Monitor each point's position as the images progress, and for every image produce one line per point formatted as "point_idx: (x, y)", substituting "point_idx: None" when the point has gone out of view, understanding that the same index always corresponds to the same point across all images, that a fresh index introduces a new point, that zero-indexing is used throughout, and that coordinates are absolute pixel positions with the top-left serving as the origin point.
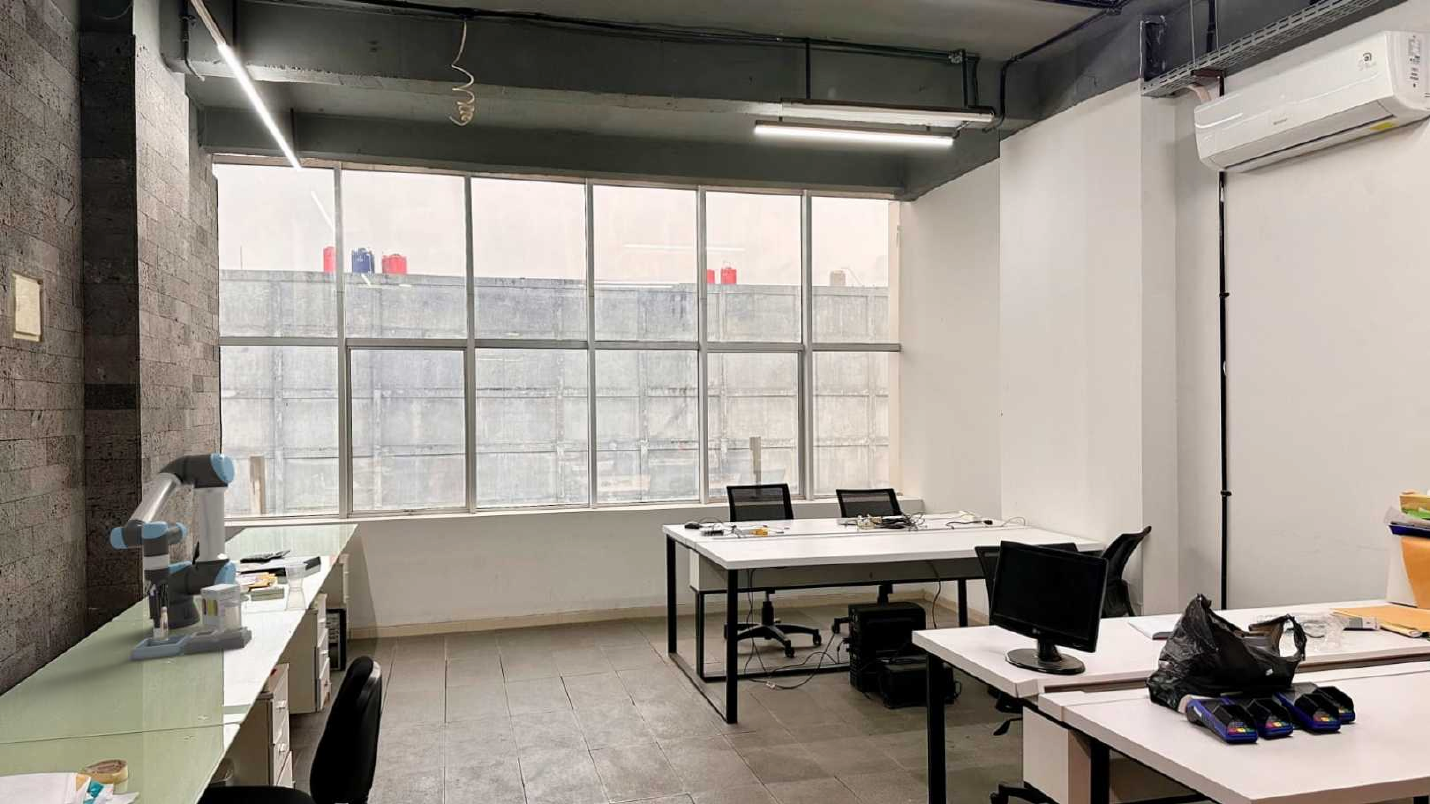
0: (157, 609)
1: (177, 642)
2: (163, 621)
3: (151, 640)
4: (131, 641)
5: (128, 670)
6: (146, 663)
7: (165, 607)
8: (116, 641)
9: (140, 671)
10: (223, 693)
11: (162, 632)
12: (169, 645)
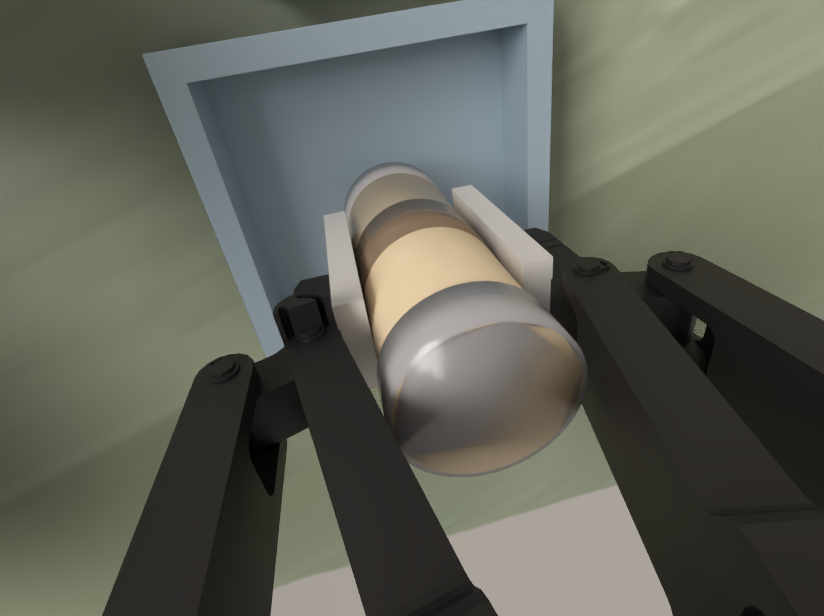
0: (799, 309)
1: (231, 159)
2: (479, 243)
3: None
4: (114, 499)
5: (728, 185)
6: (636, 149)
7: (489, 330)
8: (115, 558)
9: (799, 93)
10: None
11: (485, 198)
12: (549, 69)
